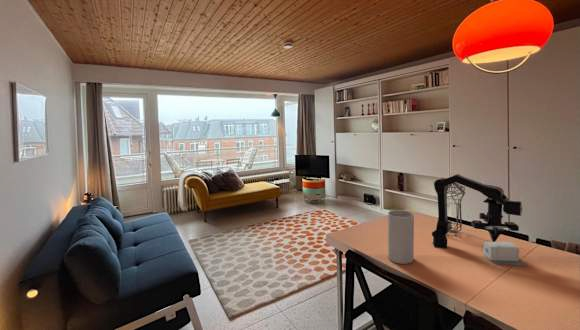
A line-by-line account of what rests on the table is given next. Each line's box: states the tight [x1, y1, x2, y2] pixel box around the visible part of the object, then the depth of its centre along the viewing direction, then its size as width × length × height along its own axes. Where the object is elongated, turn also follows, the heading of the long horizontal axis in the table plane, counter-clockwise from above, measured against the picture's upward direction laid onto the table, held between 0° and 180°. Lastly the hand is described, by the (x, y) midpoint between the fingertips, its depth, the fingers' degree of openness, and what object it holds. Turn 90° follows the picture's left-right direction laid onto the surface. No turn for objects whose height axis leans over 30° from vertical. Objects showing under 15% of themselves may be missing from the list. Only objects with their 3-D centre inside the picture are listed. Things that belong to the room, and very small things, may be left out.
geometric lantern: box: [437, 182, 466, 237], centre depth 174 cm, size 16×16×35 cm
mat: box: [491, 258, 528, 268], centre depth 139 cm, size 13×11×1 cm
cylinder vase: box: [387, 209, 415, 265], centre depth 144 cm, size 12×12×25 cm
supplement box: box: [483, 241, 520, 261], centre depth 140 cm, size 7×7×13 cm
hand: (493, 241), depth 139 cm, fingers closed
